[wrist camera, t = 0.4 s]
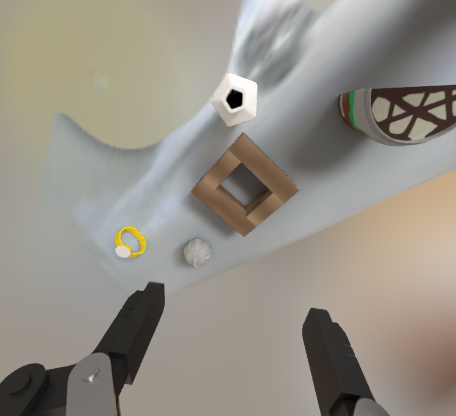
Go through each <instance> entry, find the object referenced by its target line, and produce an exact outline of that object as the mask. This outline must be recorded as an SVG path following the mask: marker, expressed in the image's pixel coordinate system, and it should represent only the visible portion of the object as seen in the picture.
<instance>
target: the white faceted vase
mask: <svg viewBox="0 0 456 416" xmlns="http://www.w3.org/2000/svg"><path fill="white" fill-rule="evenodd" d="M211 103H212V104H213V106H214V107H215V109H216V110H217V112H218V113H219V115H220V116H221V118H222V119H223V121H224V122H225V124H226V125H227V126H228V127H230V126H233V125H236V124H239V123H242V122H245V121H247V120H250V119H253V118H255V117H256V104H257V83H255V82H253V81H250V80H247V79H245V78H242V77H239V76H237V75H234V74H231V73H228V74H227V75H226V76H225V78H224V79H223V81H222V83H221V84H220V86H219V88H218V89H217V91H216V93H215V94H214V96H213V98H212V99H211Z"/></svg>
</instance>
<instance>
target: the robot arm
mask: <svg viewBox="0 0 456 416" xmlns="http://www.w3.org/2000/svg"><path fill="white" fill-rule="evenodd" d="M164 305H165V294H164V284H163V283H157V282H149V283H148V284H147V286H146V288H145V289H144V291H139V290H137V291H136V292H135V293H134V294H132V295H131V296H130V297H129V298H128V299H127V301H126V302H125V304H124V306H123V307H122V309H121V310H120V312H119V313H118V315H117V317H116V318H115V319H114V321H113V323H112V324H111V326H110V327H109V329H108V330H107V332H106V334H105V335H104V336H103V338H102V340H101V341H100V343H99V344H98V346H97V347H96V349H95V350H94V351H93V352H92V353H91V354H90V355H88V356H86V357H85V358H83V359H82V360H81V361H79V362H78V363H77V364H74V365H70V366H66V367H60V368H55V369H50V370H45V368H44V366H43V365H41V364H38V363H34V364H28V365H25V366H23V367H21V368H19V369H17V370H15V371H14V372H12V373H11V374H10V375H8V376H7V377H6V378H5V379H4V380H3V381H2V382H1V384H0V416H121V410H120V402H119V395H120V393H121V390H122V388H123V386H124V384H130V385H132V383H133V381H134V379H135V376H136V374H137V372H138V369H139V367H140V364H141V362H142V360H143V358H144V355H145V353H146V350H147V348H148V346H149V343H150V341H151V339H152V337H153V334H154V332H155V329H156V327H157V325H158V323H159V320H160V318H161V315H162V313H163V310H164ZM302 336H303V341H304V345H305V349H306V354H307V358H308V362H309V366H310V370H311V374H312V379H313V383H314V387H315V391H316V395H317V400H318V404H319V408H320V412H321V416H390V415H389V414H388V413H387V411H386V410H385V409H384V408H383V407H381V406H380V405H379V404H378V403H377V402H376V401H375V399H374V397H373V395H372V393H371V391H370V389H369V386H368V384H367V381H366V379H365V377H364V374H363V372H362V370H361V368H360V365H359V363H358V361H357V359H356V357H355V354H354V352H353V349H352V347H351V345H350V343H349V340H348V338H347V336H346V333H345V332H344V331H343V330H342V328H341V327H340V326H339V324H338V323H335V322H332V320H331V318H330V315H329V313H328V312H327V310H323V309H316V308H311V309H310V310H309V313H308V316H307V317H306V320H305V322H304V324H303V328H302Z"/></svg>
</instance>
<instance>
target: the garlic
mask: <svg viewBox="0 0 456 416" xmlns="http://www.w3.org/2000/svg"><path fill="white" fill-rule="evenodd" d="M210 249H211V248H210V246H209V245H208V243H207V242H205V241H203V240H202V239H201V238H196V239H194V240H192V241H190V242H189V243H188V244H187V245H186V246H185V248H184V257H185V260H186V262H187V263H188V264H189V265H190V266H191V267H195V269H198V267H201V266H202V265H204V264H206V263H207V262H208V261H209V259H210V257H211V251H210ZM197 266H198V267H197Z"/></svg>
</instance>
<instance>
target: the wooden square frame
mask: <svg viewBox="0 0 456 416" xmlns="http://www.w3.org/2000/svg"><path fill="white" fill-rule="evenodd" d="M241 162H242V163H243V164H244V165H245V166H246V167H247V168H248V169H249V170H250V171H251V172H252V173H253V174H254V175H255V176H256V177H257V178H258V179H259V180H260V181H261V182H262V183H263V184H264V185H265V186H267V187H268V188H266V189H265V190H264V191H263V192H262V193H261V194H260V195H259V196H258V197H257V198H256V199H254V200H253V201H252V202H251V203H250V204H249V205H248V206H247V207H245V206H244V205H243V204H242V203H241V202H240V201H238V200H237V199H236V198H235V197H234V196H233V195H232V194H231V193H230V192H228V191H227V190H226V189H225V188H224V187H223V186H222V185H221V182H222V181H223V180H224V179H225V178H226V177H227V176H228V175H229V174H230V173H231V172H232V171H233V170H234V169H235V168H236V167H237V166H238V165H239V164H240V163H241ZM298 191H299V190H298V188H297V187H296V186H295V184H294V183H293V182H292V181H291V180H290V179H289V178H288V177H287V176H286V175H285V174H284V173H283V172H282V171H281V170H280V169H279V168H278V167H277V166H276V165H275V163H274V162H273V161H272V160H271V159H270V158H269V157H268V156H267V155H266V154H265V153H264V152H263V151H262V150H261V149H260V148H259V147H258V146H257V145H256V144H255V143H254V142H253V141H252V140H251V139H250V138H249V137H248V136H247V135H246V134H245V133H244V132H243V133H242V134H241V135H240V136H239V137H238V139H237V140H236V141H235V142H234V143H233V144H232V145H231V146H230V147H229V149H228V150H227V151H226V152H225V153H224V154H223V155H222V156H221V157H220V159H219V160H218V161H217V162H216V163H215V164H214V165H213V166H212V167H211V168H210V170H209V171H208V172H207V173H206V174H205V175H204V176H203V177H202V178H201V180H200V181H199V182H198V183H197V184H196V185H195V187H194V188H193V190H192V191H191V192H192V193H193V194H194V195H195V196H196V197H198V198H199V199H200V200H201V201H202V202H203V203H205V204H206V205H207V206H208V207H209V208H211V209H212V210H213V211H214V212H215V213H216V214H218V215H219V216H220V217H221V218H222V219H224V220H225V221H226V222H227V223H228V224H229V225H231V226H232V227H233V228H234V229H235V230H237V231H238V232H239V233H240V234H241V235H242V236H244V237H245V236H246V235H247V234H248V233H249V232H251V231H252V230H253V229H254V228H255V227H257V226H258V225H259V224H260V223H261V222H262V221H264V220H265V219H266V218H267V217H268V216H270V215H271V214H272V213H273V212H274V211H275V210H277V209H278V208H279V207H280V206H281V205H282V204H284V203H285V202H286V201H287V200H288V199H290V198H291V197H292V196H293V195H294V194H295V193H297V192H298Z"/></svg>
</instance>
